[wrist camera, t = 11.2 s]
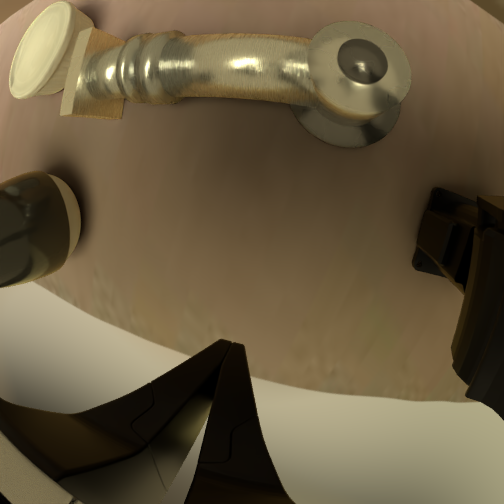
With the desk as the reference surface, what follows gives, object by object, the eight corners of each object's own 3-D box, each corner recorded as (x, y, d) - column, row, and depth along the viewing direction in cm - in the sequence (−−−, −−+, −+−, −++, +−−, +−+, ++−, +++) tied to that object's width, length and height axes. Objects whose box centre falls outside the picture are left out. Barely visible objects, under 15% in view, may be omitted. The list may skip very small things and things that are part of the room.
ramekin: (46, 39, 17) (17, 33, 12) (110, -3, 15) (79, -19, 10) (37, 114, 20) (3, 115, 15) (100, 78, 18) (60, 70, 13)
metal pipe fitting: (401, 62, 14) (431, 32, 8) (390, 160, 16) (424, 161, 11) (124, 45, 16) (81, 26, 11) (108, 125, 19) (58, 122, 14)
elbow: (384, 68, 14) (414, 33, 8) (377, 136, 16) (411, 125, 10) (180, 47, 16) (136, 16, 10) (169, 109, 18) (117, 95, 12)
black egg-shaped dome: (110, 200, 22) (-40, 256, 7) (80, 277, 25) (-21, 347, 11) (55, 147, 21) (-67, 169, 7) (34, 223, 25) (-62, 265, 11)
